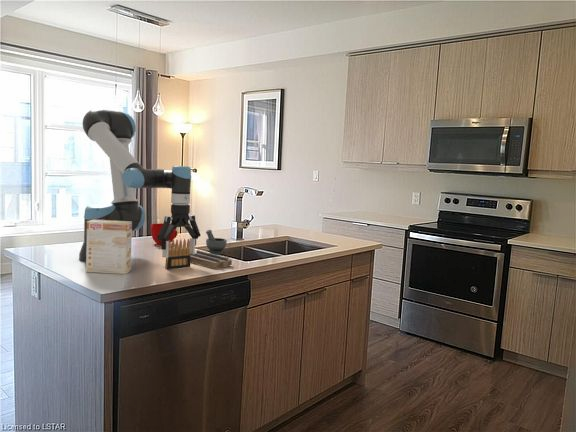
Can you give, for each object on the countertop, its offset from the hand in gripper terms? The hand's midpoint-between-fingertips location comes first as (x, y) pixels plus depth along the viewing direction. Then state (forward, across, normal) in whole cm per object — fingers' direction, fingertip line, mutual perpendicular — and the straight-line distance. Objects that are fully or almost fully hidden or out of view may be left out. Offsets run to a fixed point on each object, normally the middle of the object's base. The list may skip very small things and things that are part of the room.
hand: (178, 255), depth 191 cm
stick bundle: (+5, +16, 0) cm, 17 cm away
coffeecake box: (+5, -25, +10) cm, 28 cm away
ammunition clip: (+5, 0, 0) cm, 5 cm away
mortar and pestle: (+5, +33, +14) cm, 36 cm away
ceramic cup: (+5, +27, +45) cm, 53 cm away
